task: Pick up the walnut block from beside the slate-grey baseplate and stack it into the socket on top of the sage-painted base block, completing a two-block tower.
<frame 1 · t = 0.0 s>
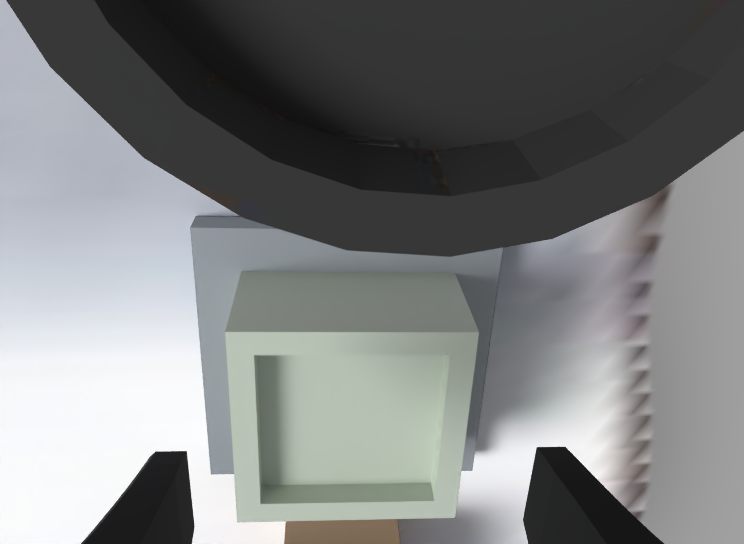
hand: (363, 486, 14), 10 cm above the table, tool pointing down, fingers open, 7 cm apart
socket base: (345, 347, 24), on the table
walnut block: (340, 543, 28), on the table
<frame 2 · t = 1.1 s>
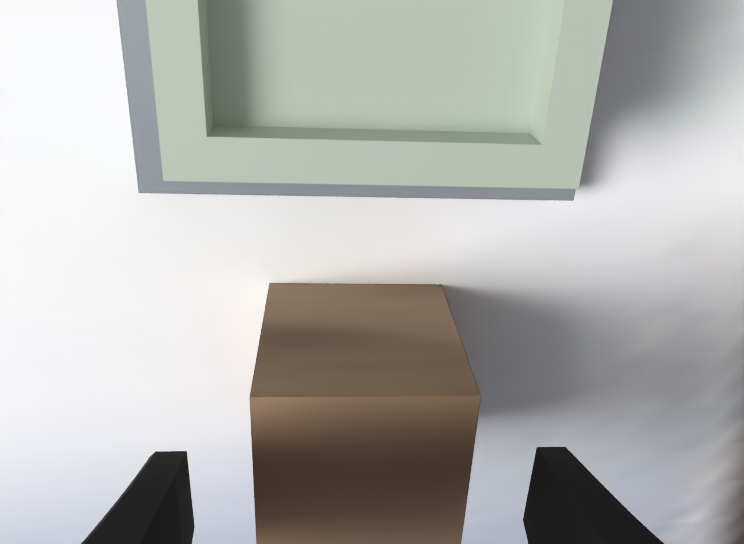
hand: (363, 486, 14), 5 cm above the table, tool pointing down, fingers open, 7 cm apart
walnut block: (353, 355, 18), on the table
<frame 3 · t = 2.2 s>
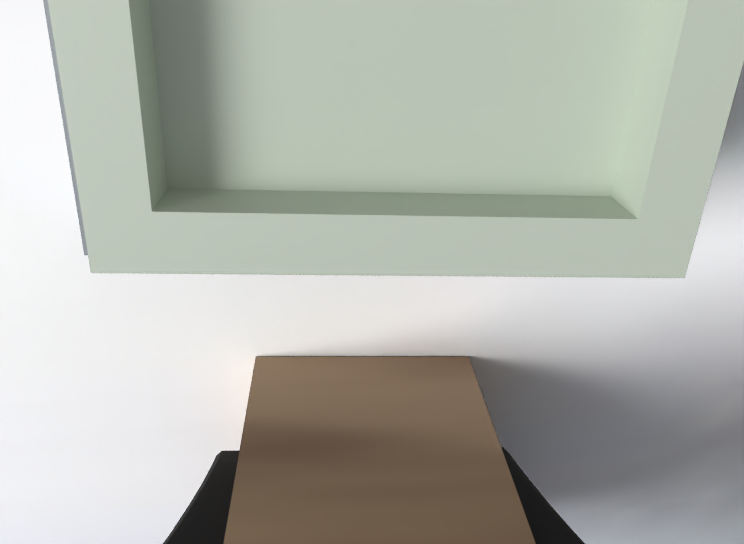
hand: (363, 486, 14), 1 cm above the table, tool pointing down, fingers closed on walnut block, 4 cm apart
walnut block: (360, 440, 15), on the table, touching gripper
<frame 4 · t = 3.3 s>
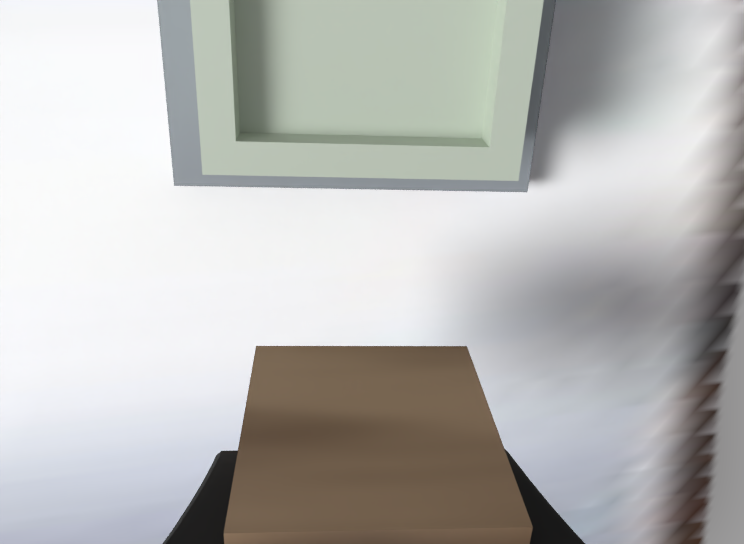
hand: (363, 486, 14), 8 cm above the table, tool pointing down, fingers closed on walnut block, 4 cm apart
walnut block: (359, 430, 15), point 7 cm above the table, touching gripper
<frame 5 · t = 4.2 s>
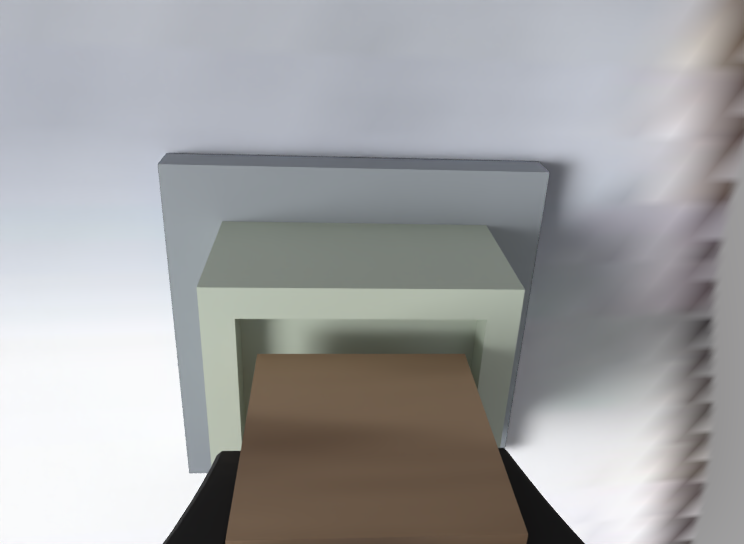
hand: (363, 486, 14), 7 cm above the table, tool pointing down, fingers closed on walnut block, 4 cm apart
socket base: (351, 319, 20), on the table
walnut block: (358, 436, 15), point 5 cm above the table, touching gripper
when the fingers open (7 cm above the table, at t = 4.6 s): walnut block drops 1 cm, resting on socket base.
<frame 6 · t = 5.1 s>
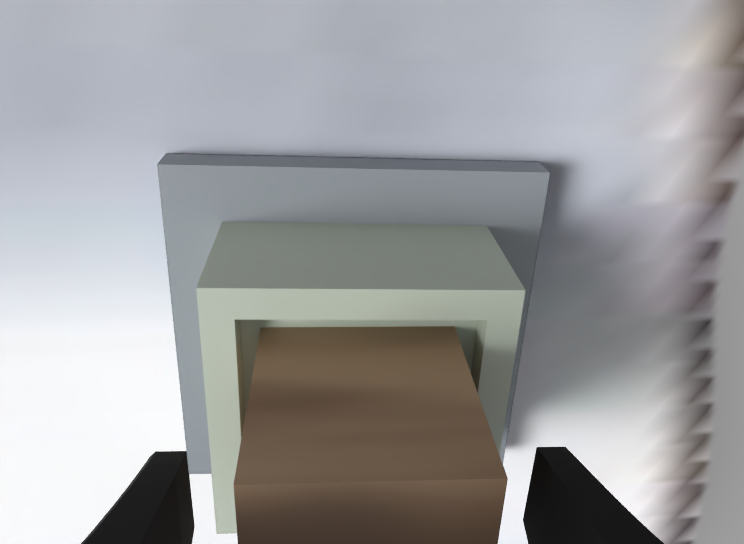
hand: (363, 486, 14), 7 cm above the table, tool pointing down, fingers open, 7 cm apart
socket base: (351, 320, 20), on the table
walnut block: (356, 405, 16), point 4 cm above the table, touching socket base
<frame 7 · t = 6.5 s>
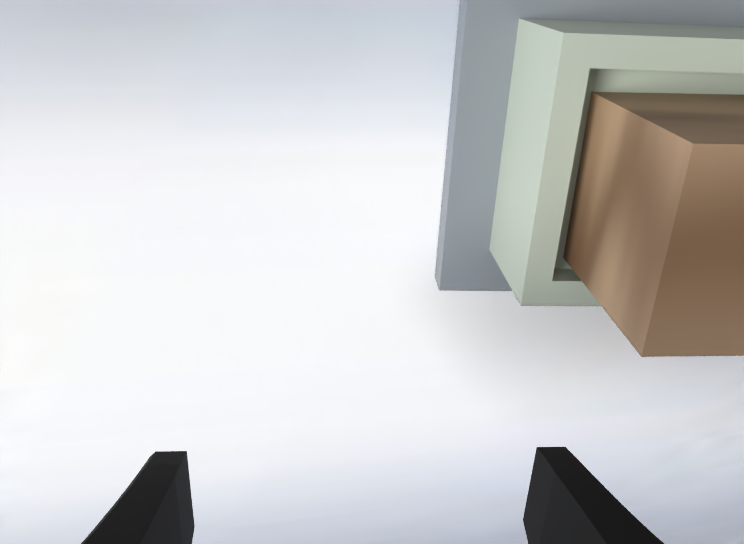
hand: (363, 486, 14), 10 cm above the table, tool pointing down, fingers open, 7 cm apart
socket base: (603, 137, 21), on the table
walnut block: (659, 180, 17), point 4 cm above the table, touching socket base
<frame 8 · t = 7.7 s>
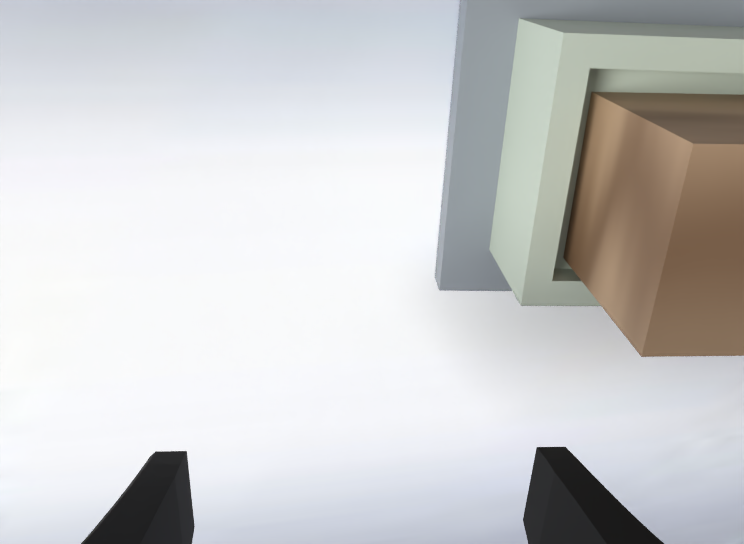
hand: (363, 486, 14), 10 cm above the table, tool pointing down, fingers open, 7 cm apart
socket base: (603, 137, 21), on the table
walnut block: (659, 180, 17), point 4 cm above the table, touching socket base
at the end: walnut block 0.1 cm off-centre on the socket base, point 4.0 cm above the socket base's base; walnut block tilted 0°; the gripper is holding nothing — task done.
